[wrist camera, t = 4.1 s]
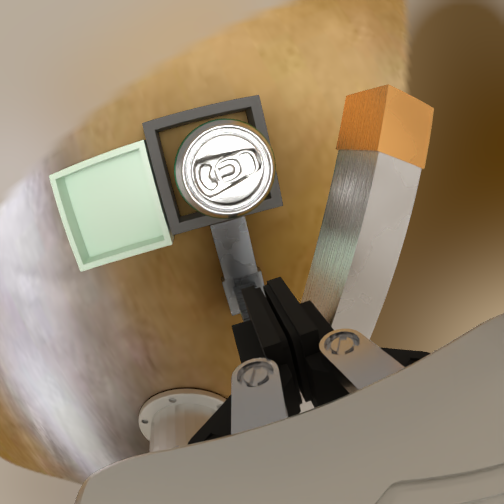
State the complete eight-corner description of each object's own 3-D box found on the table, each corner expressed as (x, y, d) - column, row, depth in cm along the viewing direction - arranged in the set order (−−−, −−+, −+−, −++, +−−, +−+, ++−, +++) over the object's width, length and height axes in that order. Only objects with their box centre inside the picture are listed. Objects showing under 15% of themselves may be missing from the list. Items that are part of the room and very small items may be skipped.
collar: (275, 200, 27) (283, 205, 25) (174, 227, 26) (172, 235, 24) (252, 100, 24) (258, 94, 21) (146, 125, 23) (142, 123, 20)
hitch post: (266, 300, 30) (319, 403, 17) (230, 310, 29) (261, 421, 16) (246, 213, 27) (300, 276, 14) (205, 224, 26) (221, 298, 13)
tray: (174, 236, 26) (172, 244, 24) (89, 261, 25) (80, 271, 23) (148, 141, 23) (143, 139, 21) (60, 173, 22) (49, 175, 20)
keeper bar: (305, 414, 16) (323, 454, 13) (254, 416, 16) (266, 460, 13) (396, 116, 12) (445, 113, 9) (335, 92, 11) (378, 78, 8)
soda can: (173, 146, 24) (156, 140, 13) (230, 124, 24) (260, 101, 13) (195, 201, 26) (197, 240, 14) (250, 179, 26) (295, 200, 15)
